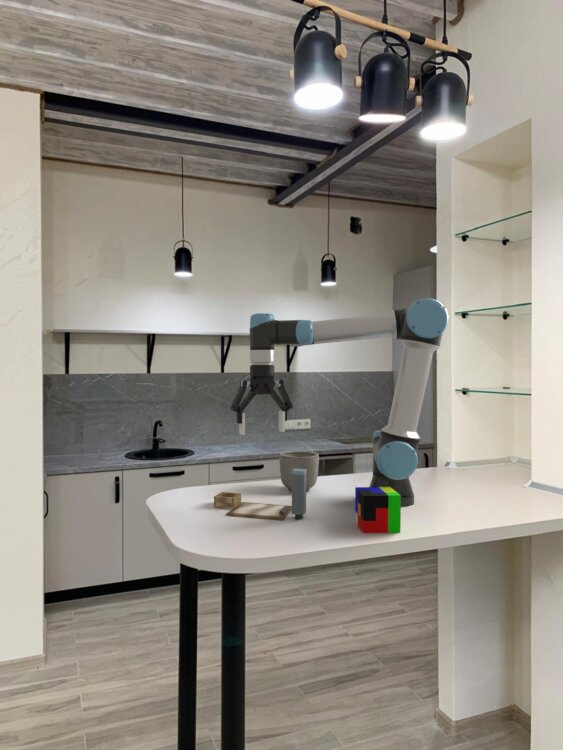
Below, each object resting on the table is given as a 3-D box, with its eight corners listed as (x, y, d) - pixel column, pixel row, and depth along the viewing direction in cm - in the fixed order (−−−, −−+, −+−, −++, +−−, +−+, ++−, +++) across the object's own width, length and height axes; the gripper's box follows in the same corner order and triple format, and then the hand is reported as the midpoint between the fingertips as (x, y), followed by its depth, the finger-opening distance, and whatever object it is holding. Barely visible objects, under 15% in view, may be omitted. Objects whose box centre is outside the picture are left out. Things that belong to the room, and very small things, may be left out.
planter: (272, 493, 188) (273, 455, 188) (287, 485, 201) (287, 449, 201) (311, 497, 183) (311, 458, 183) (323, 488, 196) (324, 452, 196)
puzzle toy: (355, 522, 155) (355, 487, 154) (389, 522, 155) (390, 486, 155) (363, 533, 145) (363, 495, 144) (400, 532, 145) (400, 495, 145)
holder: (241, 503, 174) (241, 493, 174) (234, 509, 167) (234, 498, 167) (221, 502, 175) (221, 491, 175) (213, 507, 169) (213, 496, 169)
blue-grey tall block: (306, 517, 159) (306, 469, 159) (303, 520, 156) (304, 471, 156) (294, 516, 160) (294, 468, 160) (291, 519, 157) (291, 470, 157)
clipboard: (294, 507, 169) (294, 503, 169) (282, 520, 156) (282, 515, 156) (242, 503, 174) (242, 499, 174) (226, 515, 160) (226, 510, 160)
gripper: (291, 364, 178) (291, 429, 178) (219, 364, 166) (220, 434, 167) (303, 364, 171) (303, 431, 172) (229, 364, 160) (229, 436, 160)
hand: (262, 433), depth 169 cm, fingers open, 13 cm apart
